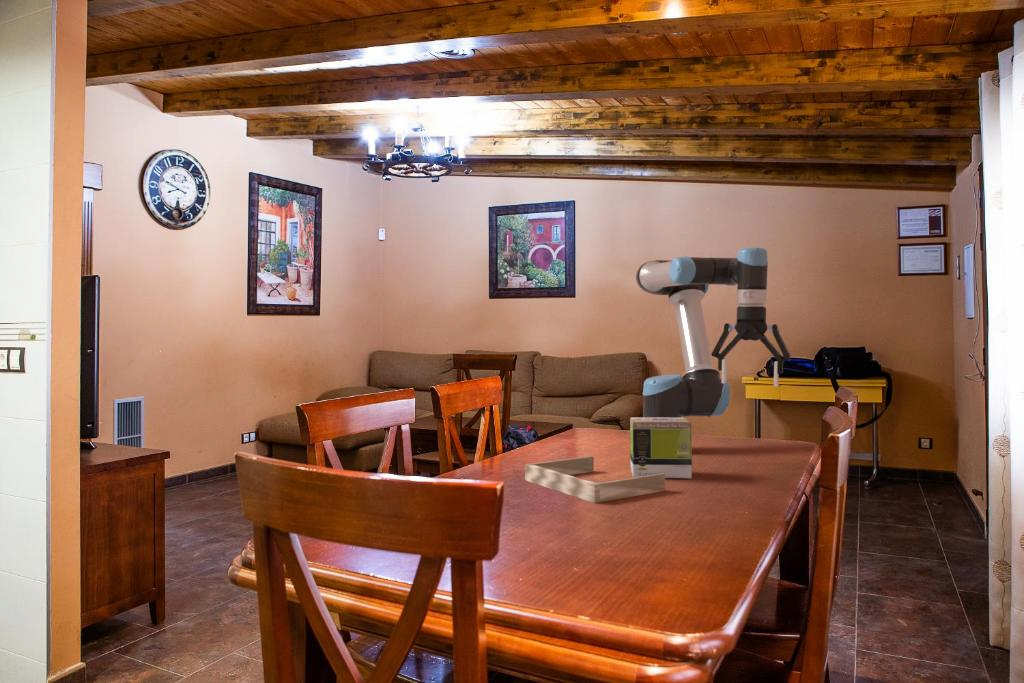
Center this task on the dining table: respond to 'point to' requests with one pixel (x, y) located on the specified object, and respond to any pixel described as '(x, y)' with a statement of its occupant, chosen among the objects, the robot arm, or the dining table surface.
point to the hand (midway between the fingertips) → (749, 384)
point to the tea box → (661, 446)
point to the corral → (560, 480)
